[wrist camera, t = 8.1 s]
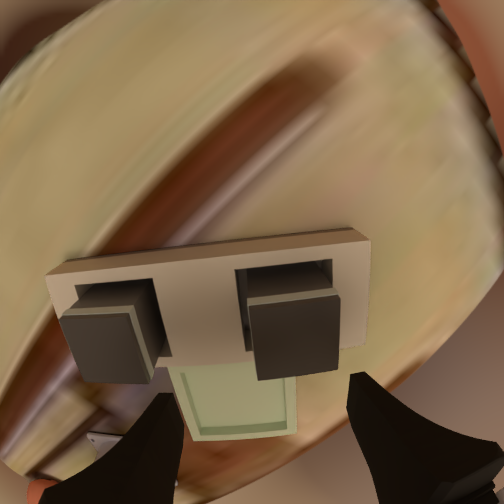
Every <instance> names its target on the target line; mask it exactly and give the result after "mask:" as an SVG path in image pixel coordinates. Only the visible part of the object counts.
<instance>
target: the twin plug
mask: <svg viewBox="0 0 504 504" xmlns="http://www.w3.org/2000/svg"><path fill="white" fill-rule="evenodd" d="M61 315H62V316H61V317H60V318H59V322H60V325H61V327H62V330H63V333H64V335H65V338H66V340H67V343H68V345H69V348H70V350H71V352H72V355H73V357H74V359H75V362H76V364H77V366H78V368H79V371H80V373H81V375H82V377H83V379H84V381H85V382H97V383H117V384H149V382H150V380H152V377H153V375H154V368H155V366H156V363H157V360H158V357H159V355H160V352H161V349H162V347H163V344H164V341H165V339H166V336H167V335H166V331H165V327H164V323H163V319H162V316H161V312H160V307H159V303H158V299H157V295H156V291H155V286H154V282H153V278H146V279H135V280H125V281H114V282H103V283H95V284H94V285H93V286H92V287H91V288H90V289H88V290H87V291H86V292H85V293H84V294H83V295H82V296H81V297H80V298H79V299H78V300H77V301H76V302H75V303H74V304H73V305H72V306H71V307H70V308H69V309H66V310H65V311H64V312H63V313H62V314H61Z"/></svg>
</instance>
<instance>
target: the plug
mask: <svg viewBox="0 0 504 504" xmlns="http://www.w3.org/2000/svg"><path fill="white" fill-rule="evenodd" d="M246 269H247V287H248V298H247V307H248V315H249V322H250V330H251V338H252V346H253V354H254V361H255V369H256V376H257V379H258V381H263V380H271V379H280V378H288V377H295V376H302V375H308V374H315V373H321V372H327V371H333V370H338V360H339V341H340V310H341V298H340V297H339V293H338V291H337V290H336V288H333V287H332V285H331V284H330V282H329V281H328V279H327V278H326V276H325V275H324V273H323V272H322V271H321V269H320V268H319V266H318V265H317V263H316V262H315V261H306V262H298V263H289V264H280V265H271V266H262V267H253V268H246Z"/></svg>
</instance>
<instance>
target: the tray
mask: <svg viewBox="0 0 504 504" xmlns="http://www.w3.org/2000/svg"><path fill="white" fill-rule="evenodd" d="M167 368H168V371H169V374H170V377H171V380H172V383H173V386H174V389H175V392H176V395H177V398H178V401H179V404H180V407H181V409H182V412H183V415H184V418H185V420H186V423H187V426H188V428H189V431H190V433H191V436H192V438H193V441H217V440H238V439H251V438H262V437H272V436H281V435H288V434H296V433H297V415H296V378H295V377H288V378H280V379H271V380H263V381H258V379H257V376H256V369H255V361H251V362H241V363H229V364H216V365H200V366H179V367H167Z"/></svg>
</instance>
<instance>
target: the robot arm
mask: <svg viewBox="0 0 504 504" xmlns="http://www.w3.org/2000/svg"><path fill="white" fill-rule="evenodd" d="M346 409H347V412H348V416H349V420H350V423H351V426H352V429H353V432H354V434H355V436H356V439H357V441H358V443H359V445H360V448H361V450H362V453H363V455H364V457H365V459H366V462H367V464H368V466H369V469H370V472H371V475H372V478H373V481H374V485H375V489H376V493H377V497H378V500H379V504H504V487H503V488H502V489H501V490H499V491H498V492H497V493H496V494H495V493H494V491H493V489H494V488H495V484H494V482H493V481H492V480H493V479H494V478H495V477H496V475H497V474H498V473H499V471H500V470H501V469H502V468H503V466H504V452H503V451H502V449H501V448H500V446H499V445H498V444H497V442H493V441H487V440H482V439H477V438H473V437H469V436H466V435H462V434H460V433H457V432H454V431H452V430H449V429H446V428H444V427H442V426H440V425H438V424H435V423H433V422H432V421H430V420H428V419H426V418H424V417H423V416H421V415H419V414H418V413H416V412H414V411H413V410H411V409H410V408H408V407H407V406H406V405H404V404H403V403H402V402H400V401H399V400H398V399H396V398H395V397H394V396H392V395H391V394H390V393H389V392H388V391H386V390H385V389H384V388H383V387H382V386H381V385H379V384H378V383H377V382H376V381H375V380H374V379H373V378H371V377H370V376H369V375H368V374H367V373H366V372H359V373H354V374H350V382H349V391H348V399H347V406H346ZM87 437H88V439H89V440H90V442H91V443H92V445H93V446H94V448H95V449H96V451H97V452H98V453H97V456H96V459H95V461H94V463H93V464H91V465H90V466H88V467H87V468H85V469H84V470H82V471H81V472H79V473H77V474H76V475H74V476H72V477H70V478H68V479H66V480H64V481H62V482H60V483H58V484H55V485H53V486H50V487H48V488H45V489H44V491H43V493H42V495H41V498H40V500H39V502H38V504H173V497H174V489H175V486H177V485H178V481H177V480H176V478H177V473H178V468H179V463H180V458H181V453H182V448H183V438H184V423H183V420H182V417H181V415H180V412H179V409H178V406H177V404H176V401H175V398H174V395H173V393H158V394H157V396H156V397H155V398H154V399H153V401H152V402H151V403H150V405H149V406H148V407H147V409H146V410H145V411H144V412H143V414H142V415H141V416H140V418H139V419H138V420H137V421H136V422H135V424H134V425H133V426H132V427H131V428H130V430H129V431H128V432H127V433H126V434H125V435H124V436H114V435H106V434H98V433H91V432H88V433H87Z"/></svg>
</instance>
